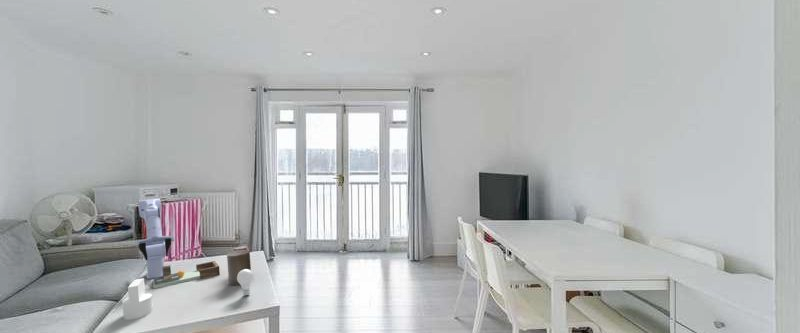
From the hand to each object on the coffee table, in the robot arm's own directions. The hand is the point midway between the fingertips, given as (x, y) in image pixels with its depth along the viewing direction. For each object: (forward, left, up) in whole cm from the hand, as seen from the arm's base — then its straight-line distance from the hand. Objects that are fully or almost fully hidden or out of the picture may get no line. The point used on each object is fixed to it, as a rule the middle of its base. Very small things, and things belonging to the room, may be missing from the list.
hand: (156, 257), depth 160 cm
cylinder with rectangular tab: (+28, -8, -14) cm, 32 cm away
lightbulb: (+39, +28, -14) cm, 50 cm away
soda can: (+8, +34, -14) cm, 38 cm away
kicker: (-4, +4, -12) cm, 13 cm away
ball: (-4, +9, -11) cm, 15 cm away
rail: (-4, +3, -12) cm, 14 cm away
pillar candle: (+20, +30, -14) cm, 39 cm away
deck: (-4, +8, -14) cm, 16 cm away
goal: (-4, +21, -14) cm, 25 cm away
